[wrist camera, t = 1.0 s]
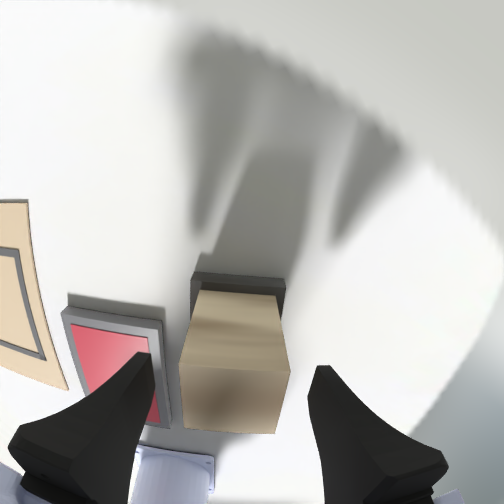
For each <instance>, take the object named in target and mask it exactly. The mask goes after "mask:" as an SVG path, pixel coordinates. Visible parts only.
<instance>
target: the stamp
mask: <svg viewBox="0 0 504 504" xmlns="http://www.w3.org/2000/svg"><path fill="white" fill-rule="evenodd" d="M285 291H286V286H285V283H284V279H280V278H267V277H253V276H241V275H229V274H217V273H205V272H194V273H193V275H192V278H191V287H190V325H189V328H188V332H187V335H186V339H185V343H184V346H183V350H182V353H181V357H180V361H179V377H180V390H181V401H182V412H183V422H184V428H189V429H197V430H207V431H218V432H232V433H255V434H275V431H276V427H277V423H278V420H279V416H280V412H281V408H282V404H283V400H284V396H285V392H286V388H287V384H288V380H289V376H290V372H291V371H290V366H289V361H288V356H287V351H286V346H285V341H284V336H283V331H282V326H281V315H282V309H283V303H284V297H285Z"/></svg>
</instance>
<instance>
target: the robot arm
mask: <svg viewBox="0 0 504 504" xmlns="http://www.w3.org/2000/svg"><path fill="white" fill-rule="evenodd" d="M155 387H156V385H155V378H154V371H153V364H152V356H151V353H145V352H139V351H138V352H137V353H136V354H134V355H133V356H132V357H131V358H130V359H129V360H128V361H127V362H126V363H125V364H124V365H123V366H122V367H121V368H120V369H119V370H118V371H117V372H116V373H115V374H114V375H113V376H111V377H110V378H109V379H108V380H107V381H106V382H105V383H103V384H102V385H101V386H100V387H98V388H97V389H96V390H95V391H93V392H92V393H91V394H89V395H88V396H86V397H85V398H83V399H82V400H80V401H79V402H77V403H75V404H73V405H72V406H70V407H68V408H66V409H64V410H62V411H60V412H58V413H56V414H53V415H51V416H48V417H46V418H43V419H40V420H37V421H34V422H30V423H26V424H23V425H20V426H19V428H18V429H17V431H16V433H15V434H14V436H13V438H12V439H11V441H10V443H9V445H8V450H9V452H10V454H11V455H12V457H13V458H14V459H15V460H16V461H17V463H18V464H19V465H20V466H21V467H22V468H23V469H24V470H25V474H24V476H22V475H21V474H19V473H18V472H16V471H15V470H13V469H11V468H10V467H8V466H6V465H5V464H3V463H1V462H0V504H127V503H128V494H129V486H130V479H131V473H132V467H133V462H134V457H135V459H136V461H137V464H138V466H139V470H138V474H137V478H136V482H135V486H134V490H133V494H132V499H131V503H130V504H208V494H213V493H214V457H212V456H209V455H199V454H191V453H183V452H176V451H169V450H163V449H158V448H152V447H147V446H142V445H138V442H139V439H140V436H141V433H142V430H143V427H144V425H145V422H146V419H147V416H148V413H149V411H150V408H151V405H152V400H153V396H154V391H155ZM307 397H308V407H309V415H310V420H311V424H312V428H313V431H314V435H315V439H316V443H317V447H318V451H319V455H320V460H321V466H322V475H323V485H324V498H325V504H465V503H464V500H463V498H462V496H461V494H460V492H459V489H455V490H452V491H450V492H448V493H446V494H444V495H441V496H439V497H437V498H435V499H434V500H432V498H431V495H432V494H433V493H434V491H433V489H432V486H433V485H434V484H435V483H436V482H437V481H438V480H440V479H441V478H442V477H443V476H444V474H445V473H446V472H447V470H448V468H449V466H448V464H447V462H446V460H445V458H444V456H443V454H442V452H441V451H440V450H437V449H434V448H432V447H429V446H427V445H424V444H422V443H420V442H418V441H416V440H413V439H412V438H410V437H408V436H406V435H404V434H403V433H401V432H399V431H398V430H396V429H395V428H393V427H392V426H390V425H389V424H387V423H386V422H385V421H384V420H382V419H381V418H380V417H378V416H377V415H376V414H375V413H374V412H373V411H371V410H370V409H369V408H368V407H367V406H366V405H365V404H364V403H363V402H362V401H361V400H360V399H359V398H358V397H357V396H356V395H355V394H354V393H353V392H352V390H351V389H350V388H349V387H348V386H347V385H346V384H345V382H344V381H343V380H342V379H341V378H340V377H339V375H338V374H337V373H336V372H335V371H334V369H333V368H332V367H331V366H330V365H319V366H317V367H316V370H315V374H314V377H313V380H312V384H311V387H310V390H309V393H308V396H307Z"/></svg>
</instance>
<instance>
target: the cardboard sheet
mask: <svg viewBox="0 0 504 504" xmlns="http://www.w3.org/2000/svg"><path fill="white" fill-rule="evenodd" d="M0 366H2V367H5V368H7V369H9V370H11V371H14V372H16V373H19V374H21V375H24V376H26V377H29V378H31V379H34V380H37V381H39V382H42V383H45V384H48V385H51V386H54V387H56V388H60V389H63V390H66V391H68V390H69V389H68V386H67V384H66V381H65V379H64V376H63V373H62V370H61V368H60V365H59V362H58V359H57V356H56V353H55V350H54V346H53V343H52V340H51V336H50V333H49V329H48V326H47V322H46V318H45V314H44V310H43V306H42V302H41V297H40V292H39V288H38V283H37V277H36V272H35V266H34V260H33V253H32V246H31V237H30V228H29V217H28V203H0Z"/></svg>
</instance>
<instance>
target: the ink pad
mask: <svg viewBox="0 0 504 504" xmlns="http://www.w3.org/2000/svg"><path fill="white" fill-rule="evenodd" d="M61 317H62V321H63V325H64V329H65V333H66V337H67V341H68V344H69V348H70V351H71V355H72V358H73V361H74V365H75V368H76V371H77V374H78V377H79V380H80V383H81V385H82V388H83V391H84V394H85V396H88V395H89V394H91V393H92V392H93V391H95V390H96V389H97V388H98V387H100V386H101V385H102V384H103V383H105V382H106V381H107V380H108V379H109V378H110V377H111V376H113V375H114V374H115V373H116V372H117V371H118V370H119V369H120V368H121V367H122V366H123V365H124V364H125V363H126V362H127V361H128V360H129V359H130V358H131V357H132V356H133V355H134V354H136V353H137V352H138V351H139V352H145V353H151V356H152V364H153V371H154V378H155V385H156V387H155V391H154V396H153V400H152V405H151V408H150V411H149V413H148V416H147V419H146V422H145V425H150V426H155V427H161V428H167V429H170V427H171V422H172V416H171V409H170V402H169V394H168V386H167V377H166V367H165V357H164V345H163V333H162V321H159V320H151V319H143V318H136V317H129V316H123V315H116V314H110V313H104V312H98V311H92V310H87V309H81V308H76V307H70V306H67V307H66V308H65V309H64V310H63V311H62V312H61Z"/></svg>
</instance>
